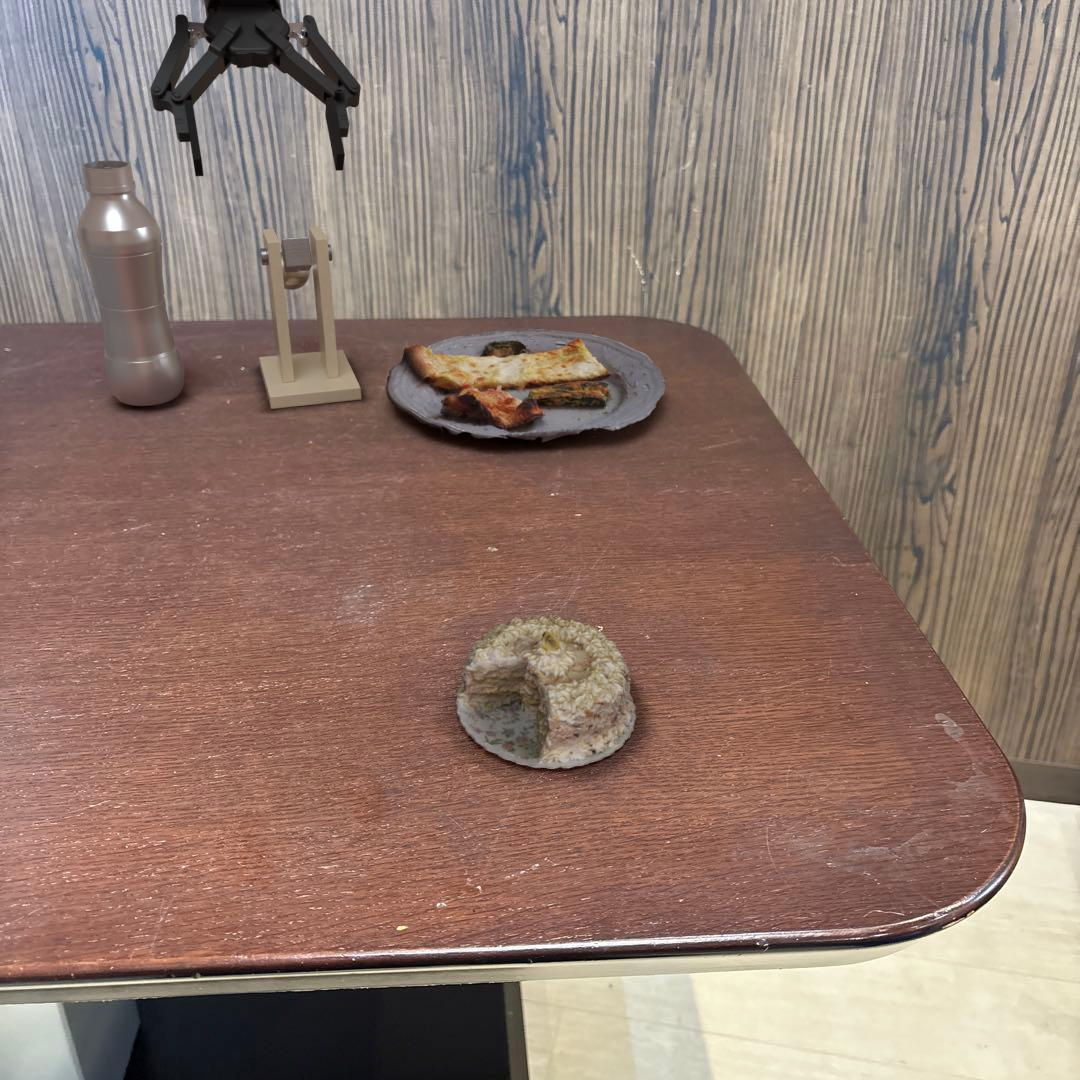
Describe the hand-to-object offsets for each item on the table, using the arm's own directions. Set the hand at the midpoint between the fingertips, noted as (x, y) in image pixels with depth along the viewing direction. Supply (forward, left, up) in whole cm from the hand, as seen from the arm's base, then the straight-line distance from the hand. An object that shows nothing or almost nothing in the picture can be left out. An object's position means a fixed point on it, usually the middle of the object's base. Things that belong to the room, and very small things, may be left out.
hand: (270, 165), depth 99 cm
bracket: (+9, -14, -16) cm, 23 cm away
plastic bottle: (-2, -22, -16) cm, 27 cm away
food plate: (+29, -11, -16) cm, 35 cm away
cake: (+42, -52, -16) cm, 69 cm away
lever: (+8, -11, -8) cm, 16 cm away
